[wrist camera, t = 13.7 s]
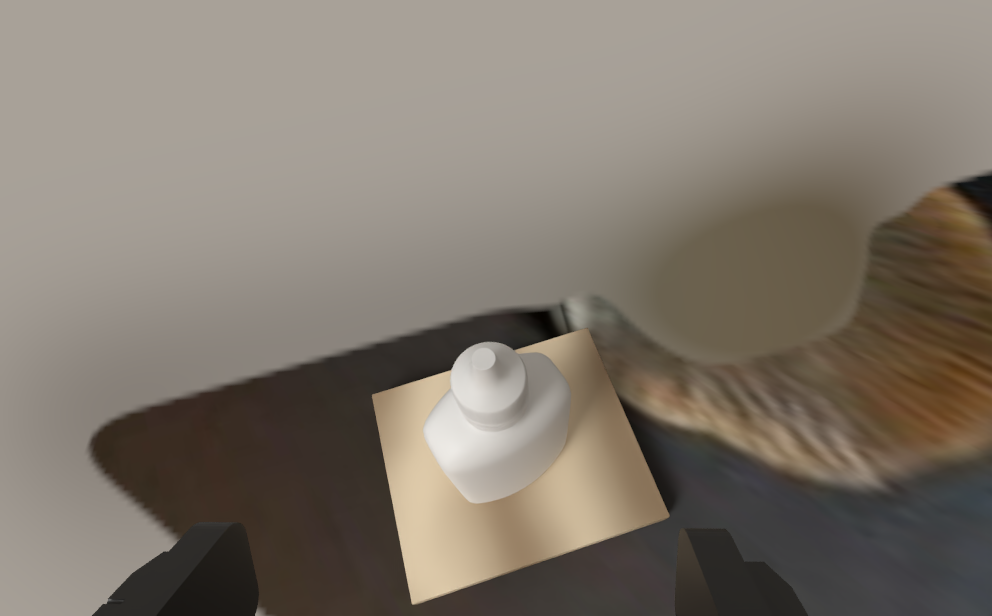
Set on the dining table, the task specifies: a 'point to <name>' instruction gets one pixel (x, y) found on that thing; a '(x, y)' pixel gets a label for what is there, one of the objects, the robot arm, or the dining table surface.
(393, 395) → the oak board
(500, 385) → the eye dropper bottle
